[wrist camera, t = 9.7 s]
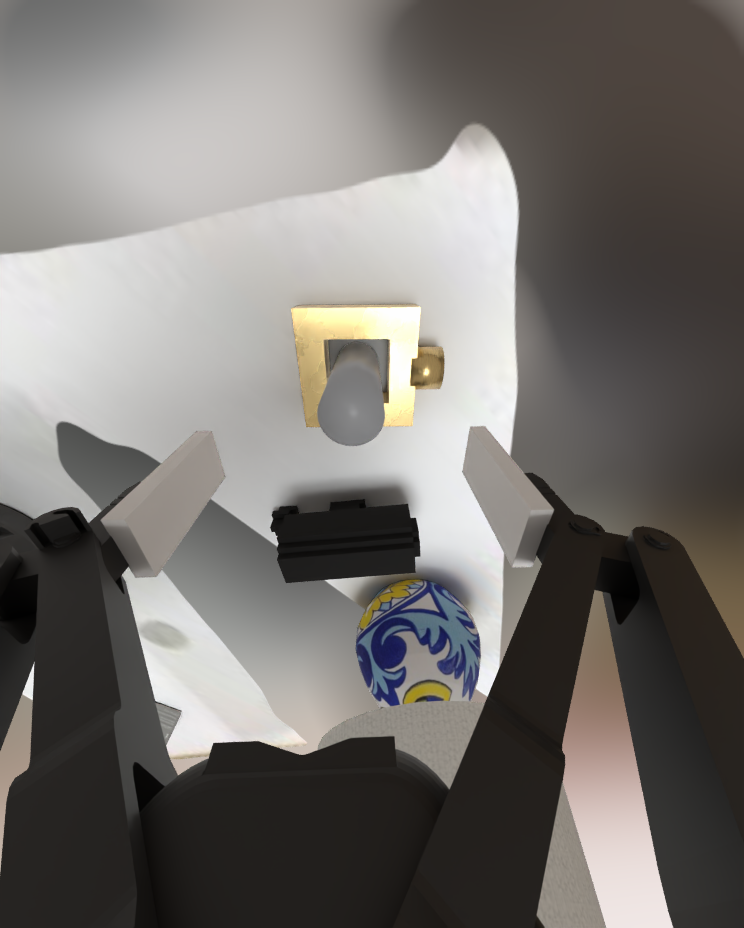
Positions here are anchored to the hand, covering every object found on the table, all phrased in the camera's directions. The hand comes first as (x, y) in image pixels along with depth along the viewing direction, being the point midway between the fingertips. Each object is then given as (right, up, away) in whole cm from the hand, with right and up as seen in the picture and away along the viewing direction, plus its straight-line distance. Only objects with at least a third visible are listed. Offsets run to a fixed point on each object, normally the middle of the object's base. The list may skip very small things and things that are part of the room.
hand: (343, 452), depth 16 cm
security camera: (-2, -7, +26) cm, 27 cm away
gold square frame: (+1, +10, +16) cm, 19 cm away
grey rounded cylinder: (0, +10, +16) cm, 19 cm away
